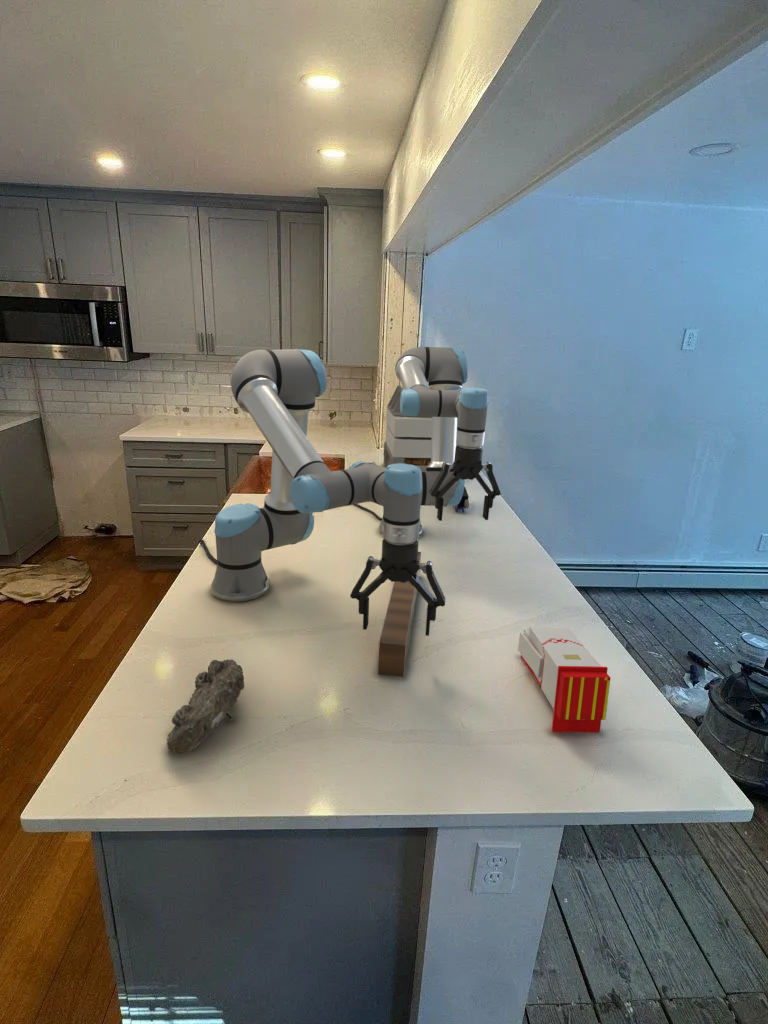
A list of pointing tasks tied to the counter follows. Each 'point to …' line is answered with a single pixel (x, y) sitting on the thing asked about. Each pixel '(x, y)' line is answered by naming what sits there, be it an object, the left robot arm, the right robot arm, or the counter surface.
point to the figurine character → (462, 502)
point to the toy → (566, 678)
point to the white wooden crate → (406, 436)
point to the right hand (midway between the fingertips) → (462, 518)
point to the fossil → (206, 705)
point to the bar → (397, 629)
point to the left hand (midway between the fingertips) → (396, 629)
